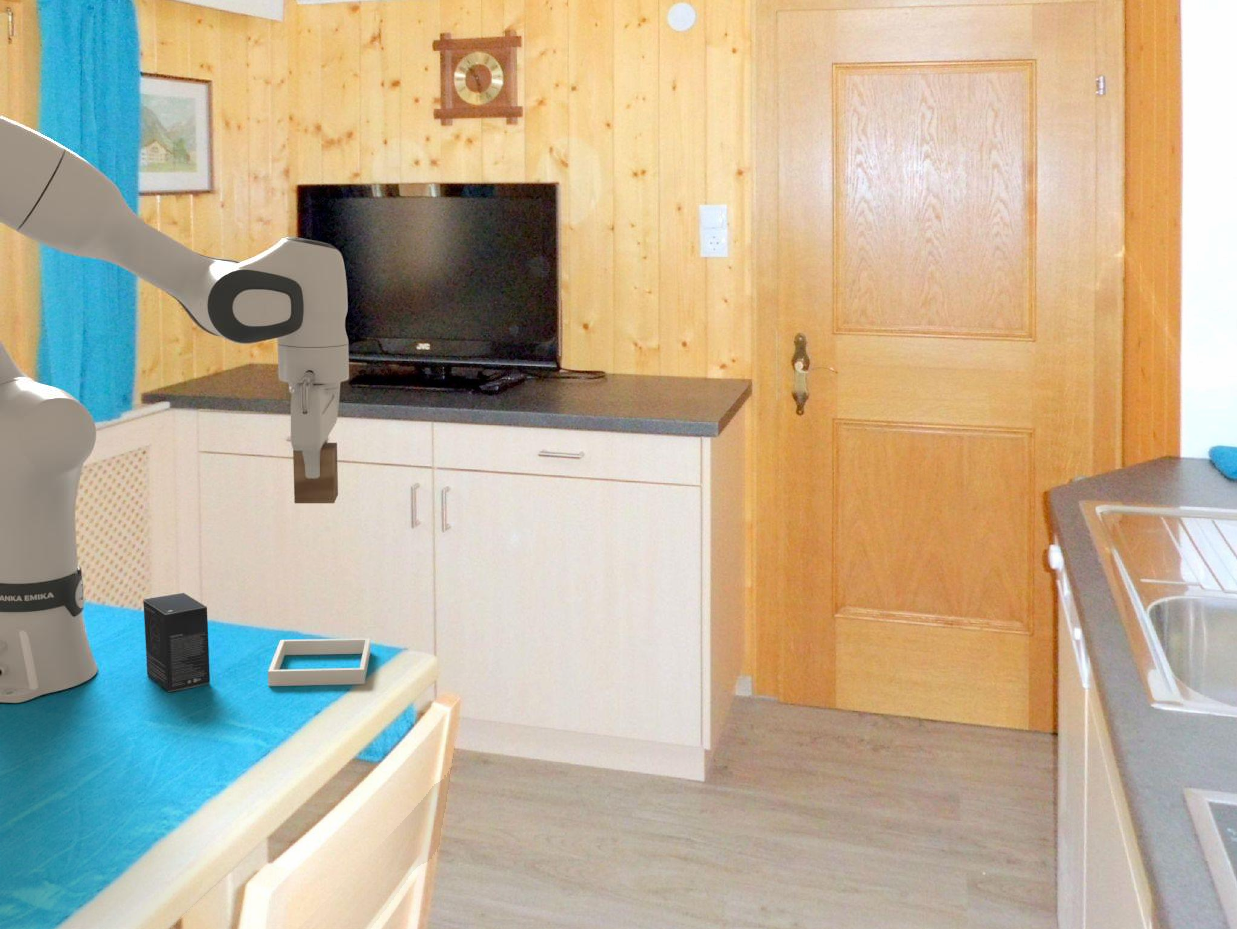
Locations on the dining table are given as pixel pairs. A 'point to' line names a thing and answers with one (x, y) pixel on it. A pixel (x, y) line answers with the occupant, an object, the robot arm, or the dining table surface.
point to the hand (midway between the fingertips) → (316, 471)
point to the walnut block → (320, 487)
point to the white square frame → (319, 675)
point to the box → (176, 641)
